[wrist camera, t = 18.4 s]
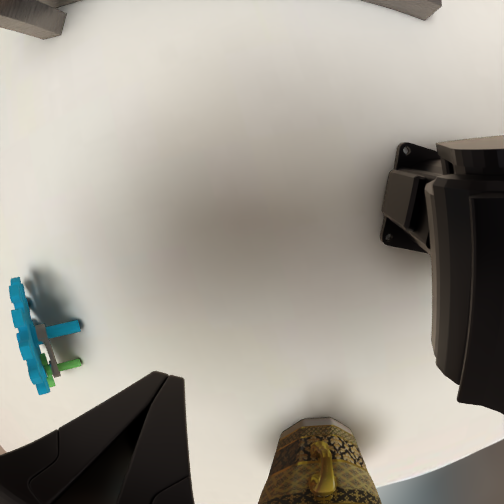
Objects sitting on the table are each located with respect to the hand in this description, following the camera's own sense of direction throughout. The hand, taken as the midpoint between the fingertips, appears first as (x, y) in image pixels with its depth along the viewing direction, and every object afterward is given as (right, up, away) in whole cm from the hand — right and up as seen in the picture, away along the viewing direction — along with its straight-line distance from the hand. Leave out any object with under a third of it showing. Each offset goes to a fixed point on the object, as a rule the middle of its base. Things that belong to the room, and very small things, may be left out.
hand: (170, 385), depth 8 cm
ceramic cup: (+8, -12, +17) cm, 23 cm away
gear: (-16, -3, +17) cm, 23 cm away
